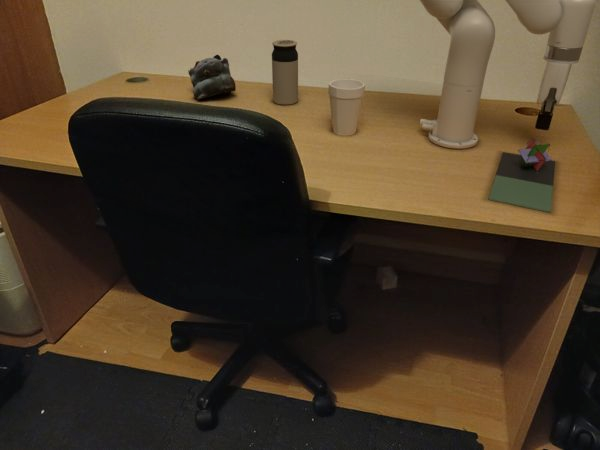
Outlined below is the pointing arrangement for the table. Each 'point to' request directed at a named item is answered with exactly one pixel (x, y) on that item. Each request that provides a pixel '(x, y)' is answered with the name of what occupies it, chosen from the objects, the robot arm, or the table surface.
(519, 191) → the desk pad
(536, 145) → the geometric puzzle
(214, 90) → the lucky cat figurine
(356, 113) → the foam cup
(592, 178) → the table surface
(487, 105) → the table surface
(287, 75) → the travel mug
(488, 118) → the table surface
